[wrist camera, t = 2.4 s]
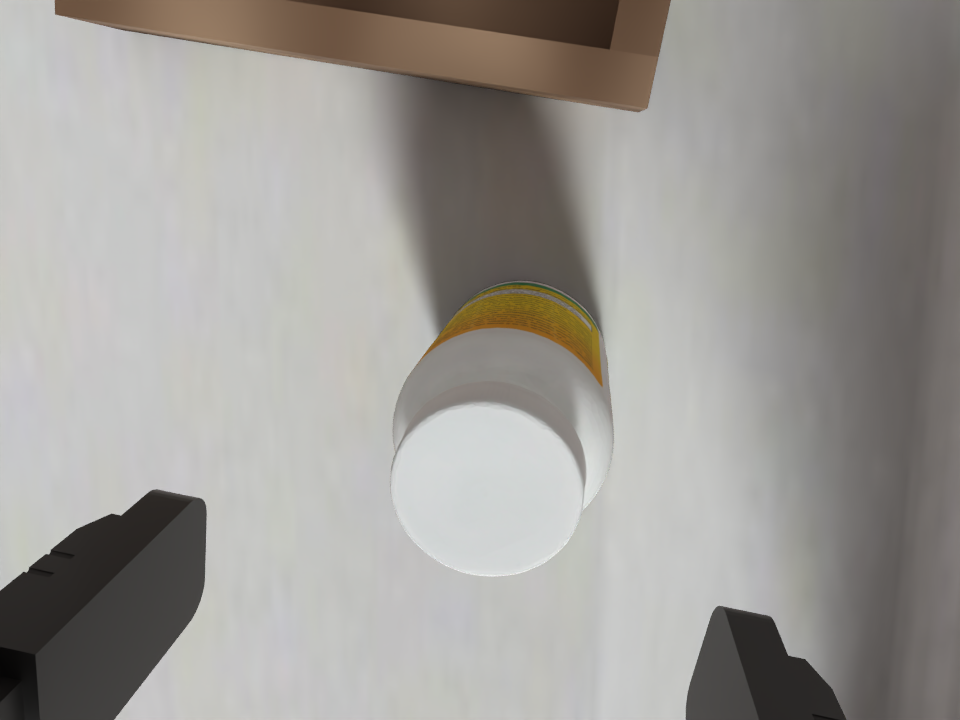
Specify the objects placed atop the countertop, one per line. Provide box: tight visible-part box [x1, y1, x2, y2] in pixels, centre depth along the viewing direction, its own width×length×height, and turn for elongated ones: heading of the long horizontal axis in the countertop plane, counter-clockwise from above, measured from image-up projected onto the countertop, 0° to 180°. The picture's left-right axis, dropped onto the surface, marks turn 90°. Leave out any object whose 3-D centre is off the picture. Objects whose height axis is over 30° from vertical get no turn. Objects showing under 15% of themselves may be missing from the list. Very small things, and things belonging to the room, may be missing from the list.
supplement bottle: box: [390, 281, 614, 576], centre depth 19 cm, size 5×5×10 cm
